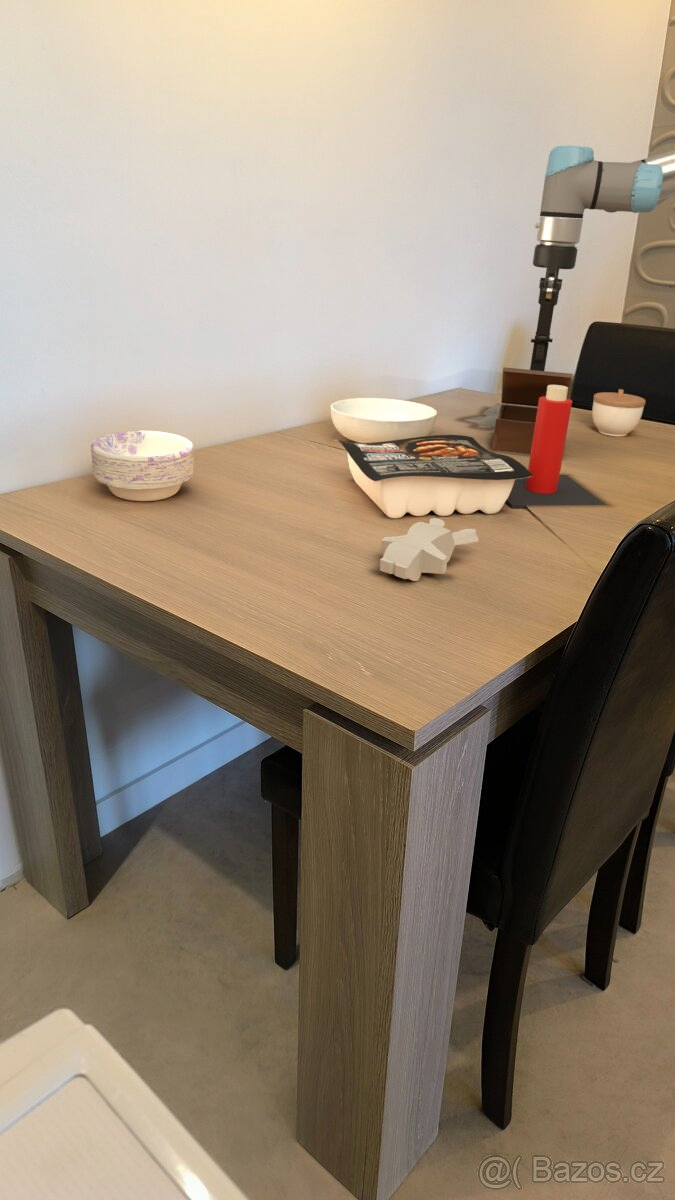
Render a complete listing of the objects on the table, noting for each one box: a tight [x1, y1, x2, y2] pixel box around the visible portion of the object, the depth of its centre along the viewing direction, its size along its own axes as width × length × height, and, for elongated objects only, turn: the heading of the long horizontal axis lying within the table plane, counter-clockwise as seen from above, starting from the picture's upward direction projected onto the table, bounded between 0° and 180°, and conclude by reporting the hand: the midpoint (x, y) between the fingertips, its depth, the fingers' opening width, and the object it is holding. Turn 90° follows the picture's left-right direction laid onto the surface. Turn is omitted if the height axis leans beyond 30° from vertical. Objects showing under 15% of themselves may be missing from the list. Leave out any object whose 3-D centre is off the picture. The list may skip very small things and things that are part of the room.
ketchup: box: [525, 385, 573, 494], centre depth 135 cm, size 5×5×17 cm
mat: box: [505, 474, 607, 509], centre depth 139 cm, size 16×16×1 cm
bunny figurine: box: [379, 517, 480, 582], centre depth 107 cm, size 10×5×15 cm
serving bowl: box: [330, 397, 438, 443], centre depth 162 cm, size 21×21×7 cm
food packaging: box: [334, 434, 533, 519], centre depth 131 cm, size 25×8×23 cm
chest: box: [491, 403, 538, 455], centre depth 164 cm, size 15×13×7 cm
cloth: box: [465, 402, 502, 429], centre depth 186 cm, size 26×14×2 cm, turn 148°
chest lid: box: [500, 367, 573, 407], centre depth 161 cm, size 15×13×1 cm
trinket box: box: [591, 388, 646, 437], centre depth 179 cm, size 11×11×9 cm
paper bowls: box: [90, 430, 195, 502], centre depth 127 cm, size 15×15×8 cm
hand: (536, 377), depth 158 cm, fingers closed
